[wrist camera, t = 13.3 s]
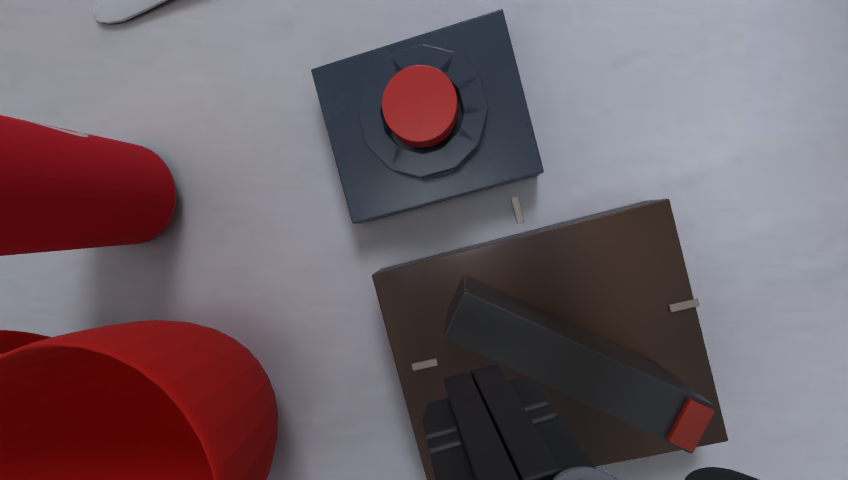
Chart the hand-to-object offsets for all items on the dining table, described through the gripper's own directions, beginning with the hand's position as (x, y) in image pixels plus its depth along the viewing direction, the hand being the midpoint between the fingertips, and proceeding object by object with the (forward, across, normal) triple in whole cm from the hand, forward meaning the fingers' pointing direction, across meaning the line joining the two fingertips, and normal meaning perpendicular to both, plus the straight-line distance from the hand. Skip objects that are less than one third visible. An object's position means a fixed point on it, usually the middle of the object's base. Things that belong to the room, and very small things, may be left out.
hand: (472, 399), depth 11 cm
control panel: (+12, -6, +6) cm, 15 cm away
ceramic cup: (+16, +15, +6) cm, 23 cm away
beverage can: (+19, +16, -6) cm, 26 cm away
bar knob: (+9, -6, +5) cm, 12 cm away
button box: (+16, -3, -7) cm, 17 cm away
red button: (+13, -2, -8) cm, 15 cm away
